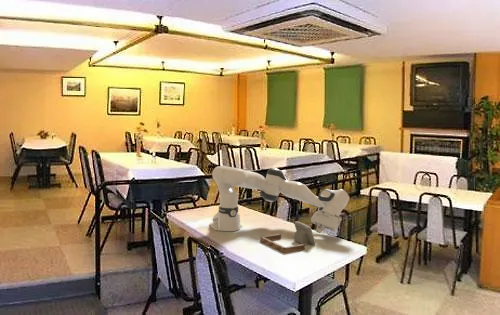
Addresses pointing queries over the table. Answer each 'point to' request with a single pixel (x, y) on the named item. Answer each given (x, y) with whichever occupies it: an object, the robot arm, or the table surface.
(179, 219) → the table surface
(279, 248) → the frame
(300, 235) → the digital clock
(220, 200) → the robot arm
